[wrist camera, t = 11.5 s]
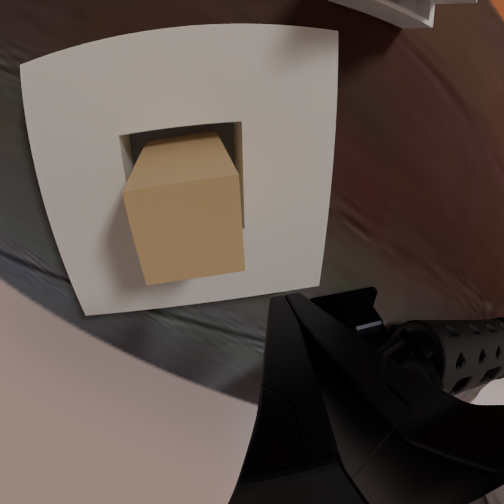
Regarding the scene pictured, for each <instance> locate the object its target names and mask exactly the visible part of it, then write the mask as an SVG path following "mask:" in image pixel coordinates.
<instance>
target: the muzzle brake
mask: <svg viewBox="0 0 504 504" xmlns="http://www.w3.org/2000/svg"><path fill="white" fill-rule="evenodd" d="M404 328H405V329H406V331H407V332H408V333H409V334H410V336H411V337H412V338H413V339H414V341H415V342H416V343H417V344H418V346H419V347H420V348H421V350H422V351H423V352H424V353H425V355H426V356H428V355H429V360H430V361H431V363H432V364H433V366H434V368H435V369H436V371H437V373H438V374H439V376H440V378H441V380H442V382H443V385H444V387H445V392H447V393H449V394H450V395H452V396H453V395H456V394H459V393H461V392H464V391H467V390H470V389H472V388H475V387H478V386H480V385H483V384H485V383H488V382H490V381H492V380H495V379H501V378H504V317H500V318H494V319H492V320H412V321H407V322H405V323H403V324H402V325H394V326H393V328H392V329H391V331H390V332H389V333H390V335H391V336H392V338H393V337H394V336H396V335H397V334H398V333H399V331H401V330H402V329H404Z"/></svg>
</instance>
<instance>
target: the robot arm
mask: <svg viewBox="0 0 504 504" xmlns="http://www.w3.org/2000/svg"><path fill="white" fill-rule="evenodd" d="M376 295H377V290H376V289H375V287H369V288H364V289H359V290H353V291H348V292H343V293H338V294H332V295H327V296H322V297H316V298H313V299H312V300H311V301H310V300H309V299H308V298H306V297H305V296H303V295H302V294H301V293H299V292H292V293H286V294H285V295H282V294H280V295H274V296H270V298H269V308H268V319H267V329H266V339H265V350H264V359H263V369H262V379H261V388H260V396H259V404H258V411H257V416H256V421H255V424H254V428H253V432H252V436H251V440H250V443H249V446H248V449H247V453H246V456H245V459H244V463H243V466H242V469H241V472H240V476H239V478H238V481H237V484H236V487H235V489H234V492H233V494H232V496H231V498H230V501H229V503H228V504H504V405H474V404H470V403H467V402H464V401H462V400H460V399H458V398H456V397H454V396H452V395H450V394H449V393H447V392H445V387H444V385H443V382H442V380H441V378H440V376H439V374H438V373H437V371H436V369H435V368H434V366H433V364H432V363H431V361H430V360H429V359H428V357H427V356H426V355H425V353H424V352H423V351H422V350H421V348H420V347H419V346H418V344H417V343H416V342H415V341H414V339H413V338H412V337H411V336H410V334H409V333H408V332H407V331H406V329H405V328H404V329H402V330H401V331H399V333H398V334H397V335H396V336H394V337H393V338H392V336H391V335H390V333H389V332H388V330H387V329H386V327H385V326H384V324H383V320H382V319H381V317H380V316H379V314H378V313H377V311H376V310H375V308H374V307H373V305H374V302H375V298H376ZM315 303H316V304H315Z"/></svg>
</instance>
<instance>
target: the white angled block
mask: <svg viewBox="0 0 504 504" xmlns="http://www.w3.org/2000/svg"><path fill="white" fill-rule="evenodd" d="M328 1H330V2H333V3H337V4H340V5H343V6H346V7H349V8H352V9H355V10H358V11H361V12H363V13H366V14H369V15H371V16H374V17H377V18H379V19H382V20H384V21H386V22H389V23H391V24H394V25H396V26H398V27H400V28H433V20H434V9H435V4H446V3H477V0H328Z"/></svg>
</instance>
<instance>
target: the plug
mask: <svg viewBox="0 0 504 504" xmlns="http://www.w3.org/2000/svg"><path fill="white" fill-rule="evenodd" d="M122 194H123V198H124V203H125V207H126V211H127V215H128V219H129V223H130V227H131V231H132V235H133V239H134V243H135V247H136V250H137V254H138V258H139V261H140V265H141V268H142V271H143V275H144V278H145V282H146V285H153V284H160V283H167V282H174V281H180V280H187V279H194V278H201V277H207V276H214V275H221V274H227V273H234V272H240V271H245V259H244V244H243V229H242V213H241V198H240V182H239V174H238V172H237V170H236V168H235V166H234V164H233V162H232V160H231V158H230V157H229V155H228V153H227V151H226V149H225V147H224V145H223V143H222V142H221V140H220V138H219V136H218V134H217V132H216V131H215V132H206V133H198V134H190V135H183V136H176V137H169V138H163V139H157V140H151V141H147V142H146V144H145V146H144V148H143V150H142V152H141V154H140V156H139V158H138V160H137V162H136V164H135V166H134V168H133V170H132V172H131V174H130V176H129V178H128V180H127V183H126V185H125V187H124V189H123V191H122Z"/></svg>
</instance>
